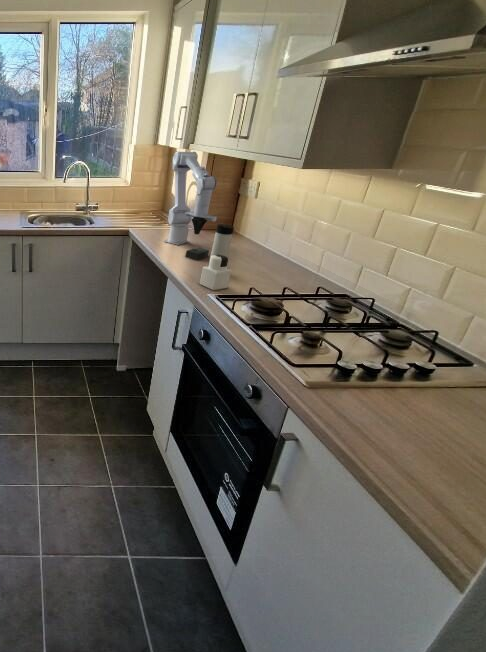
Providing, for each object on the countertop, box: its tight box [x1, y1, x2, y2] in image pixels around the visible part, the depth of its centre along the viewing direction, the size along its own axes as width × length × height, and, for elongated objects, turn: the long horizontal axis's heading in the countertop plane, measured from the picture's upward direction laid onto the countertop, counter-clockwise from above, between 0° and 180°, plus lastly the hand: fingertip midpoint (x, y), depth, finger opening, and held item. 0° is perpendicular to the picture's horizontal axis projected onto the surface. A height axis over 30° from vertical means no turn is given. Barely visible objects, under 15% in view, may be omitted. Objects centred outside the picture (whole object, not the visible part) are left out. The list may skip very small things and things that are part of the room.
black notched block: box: [185, 248, 205, 261], centre depth 190 cm, size 6×6×3 cm
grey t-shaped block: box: [195, 246, 210, 258], centre depth 192 cm, size 6×5×3 cm
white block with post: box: [199, 255, 232, 291], centre depth 156 cm, size 7×7×12 cm
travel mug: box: [209, 224, 235, 259], centre depth 169 cm, size 6×7×20 cm
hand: (196, 233), depth 192 cm, fingers closed
